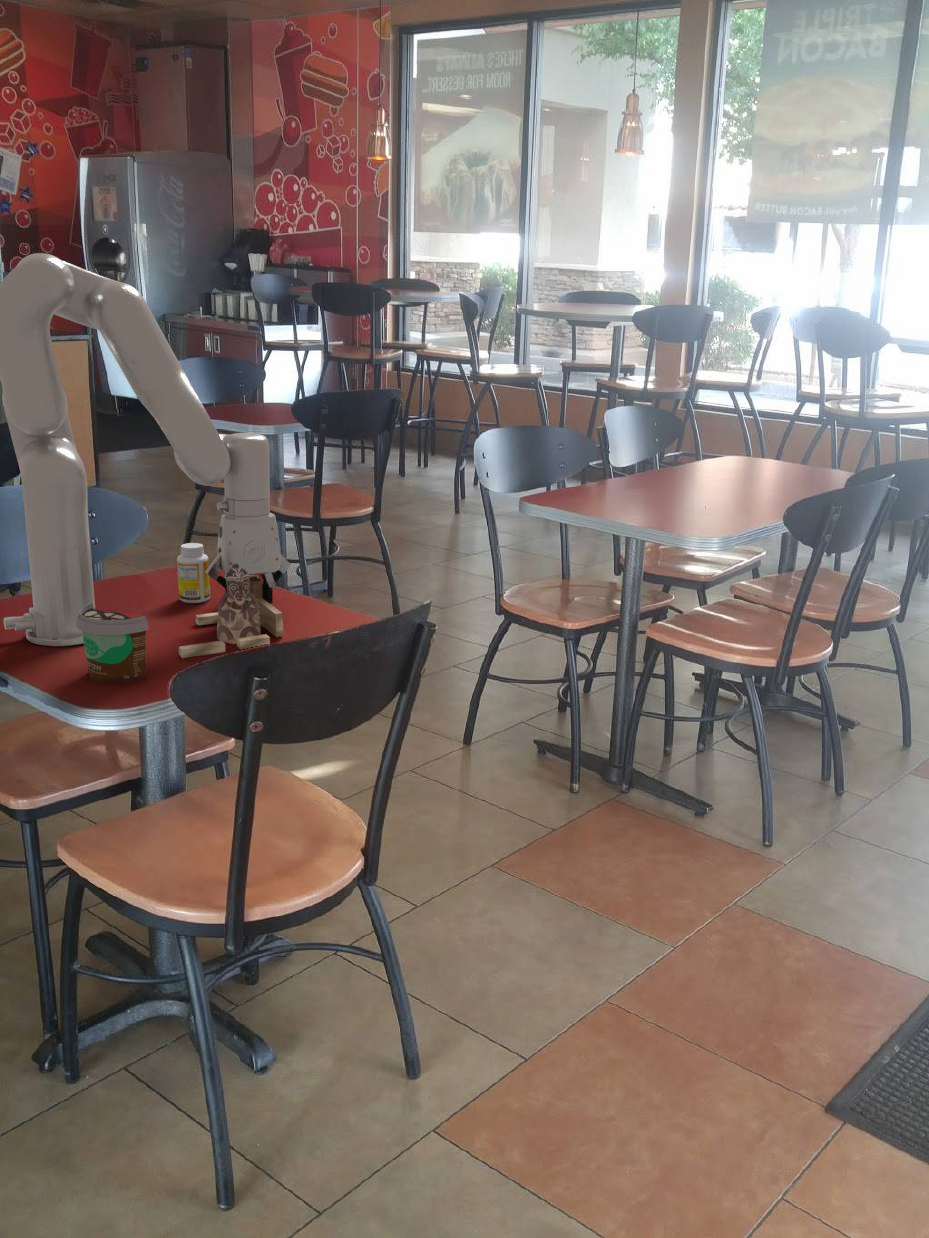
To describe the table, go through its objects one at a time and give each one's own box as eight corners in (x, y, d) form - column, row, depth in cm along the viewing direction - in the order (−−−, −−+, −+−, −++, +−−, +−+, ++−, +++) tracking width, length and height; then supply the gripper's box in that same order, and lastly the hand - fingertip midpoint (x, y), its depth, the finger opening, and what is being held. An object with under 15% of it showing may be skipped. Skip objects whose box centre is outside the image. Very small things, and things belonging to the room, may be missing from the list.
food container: (62, 675, 176) (56, 611, 173) (94, 664, 181) (89, 602, 178) (120, 692, 170) (116, 626, 167) (152, 680, 175) (148, 616, 172)
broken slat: (182, 658, 184) (181, 649, 184) (179, 655, 186) (178, 646, 185) (269, 645, 191) (269, 637, 191) (266, 642, 193) (266, 634, 192)
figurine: (216, 644, 191) (213, 573, 188) (218, 630, 198) (215, 561, 194) (260, 643, 192) (258, 572, 189) (261, 629, 199) (259, 561, 195)
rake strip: (220, 645, 190) (219, 603, 188) (192, 620, 202) (190, 581, 200) (284, 635, 195) (283, 595, 193) (253, 612, 208) (251, 573, 206)
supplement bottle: (202, 593, 219) (199, 540, 215) (215, 601, 214) (213, 546, 211) (174, 598, 215) (171, 544, 212) (186, 605, 211) (184, 550, 208)
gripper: (205, 515, 192) (208, 621, 197) (303, 508, 200) (303, 610, 205) (191, 506, 198) (194, 609, 203) (286, 499, 206) (287, 599, 212)
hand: (249, 608), depth 204 cm, fingers open, 5 cm apart
